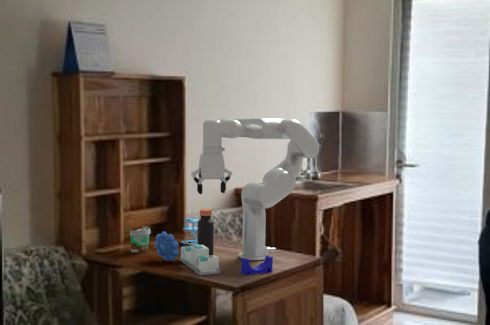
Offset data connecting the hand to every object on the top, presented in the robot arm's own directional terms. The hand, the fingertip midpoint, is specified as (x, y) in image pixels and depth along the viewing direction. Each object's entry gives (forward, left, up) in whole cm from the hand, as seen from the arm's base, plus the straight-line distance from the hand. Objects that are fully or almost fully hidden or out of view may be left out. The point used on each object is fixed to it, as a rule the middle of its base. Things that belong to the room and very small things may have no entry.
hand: (211, 193), depth 289 cm
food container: (+21, -27, -28) cm, 45 cm away
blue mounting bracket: (-11, +21, -29) cm, 37 cm away
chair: (-5, -36, -28) cm, 46 cm away
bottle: (-1, -9, -28) cm, 30 cm away
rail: (+7, +6, -28) cm, 30 cm away
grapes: (+17, -7, -28) cm, 34 cm away
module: (+7, +6, -27) cm, 29 cm away
